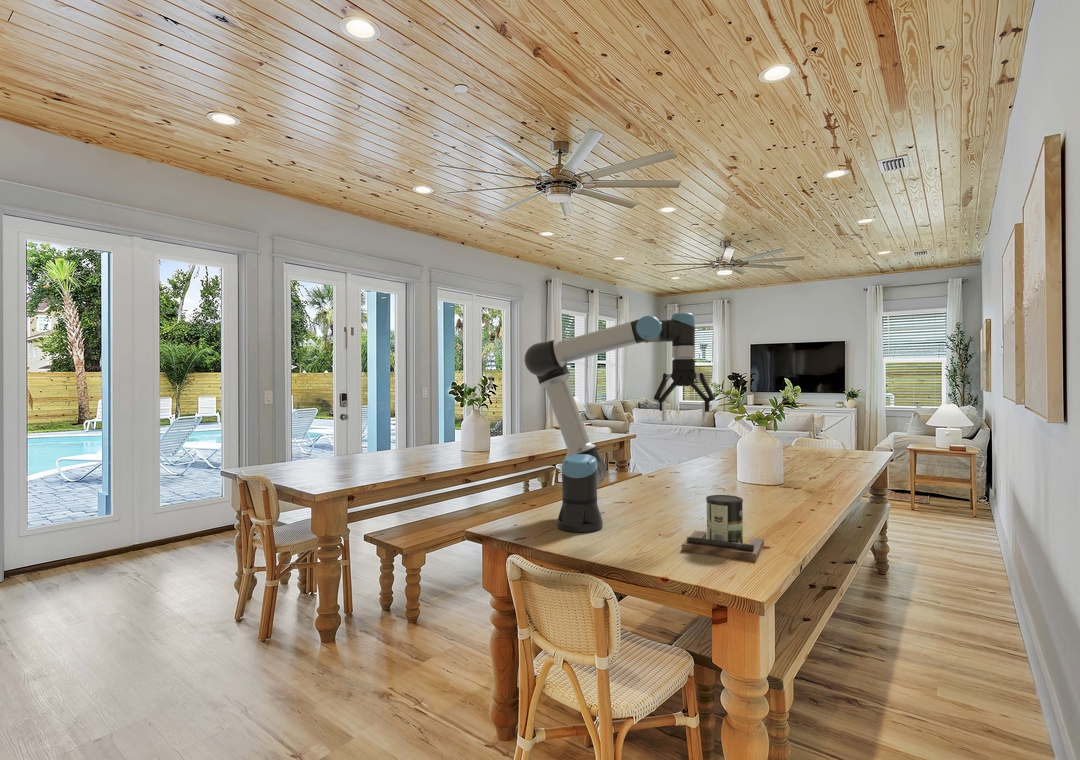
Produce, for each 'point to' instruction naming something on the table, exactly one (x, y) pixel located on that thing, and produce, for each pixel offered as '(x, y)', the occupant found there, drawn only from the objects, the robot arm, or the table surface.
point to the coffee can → (725, 518)
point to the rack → (723, 547)
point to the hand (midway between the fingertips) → (684, 421)
